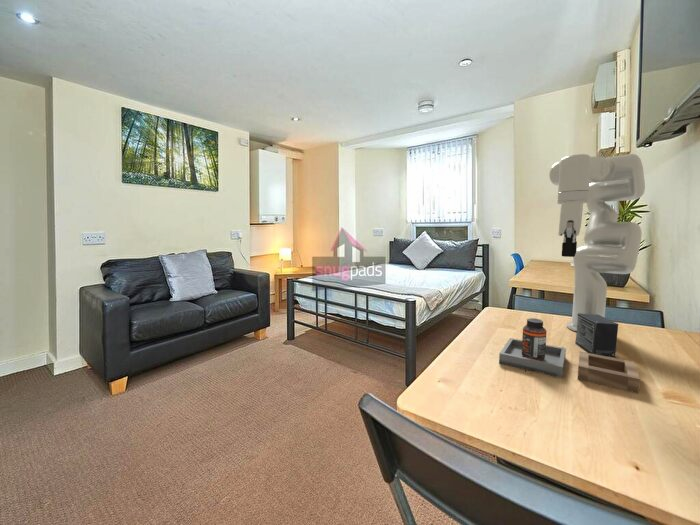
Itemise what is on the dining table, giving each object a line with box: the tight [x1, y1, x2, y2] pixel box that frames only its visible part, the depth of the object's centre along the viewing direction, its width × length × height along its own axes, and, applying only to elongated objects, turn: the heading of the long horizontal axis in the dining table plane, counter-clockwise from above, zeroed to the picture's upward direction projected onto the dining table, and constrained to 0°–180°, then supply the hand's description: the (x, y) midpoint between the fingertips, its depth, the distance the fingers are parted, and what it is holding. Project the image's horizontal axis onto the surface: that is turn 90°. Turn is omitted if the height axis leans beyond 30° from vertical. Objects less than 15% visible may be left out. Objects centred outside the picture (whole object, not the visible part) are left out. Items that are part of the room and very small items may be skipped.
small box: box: [574, 313, 619, 358], centre depth 96 cm, size 11×6×10 cm, turn 168°
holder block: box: [577, 351, 641, 394], centre depth 79 cm, size 12×12×4 cm
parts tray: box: [498, 337, 567, 379], centre depth 89 cm, size 15×15×3 cm
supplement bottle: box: [521, 317, 547, 361], centre depth 89 cm, size 6×6×11 cm
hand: (569, 255), depth 93 cm, fingers open, 9 cm apart
